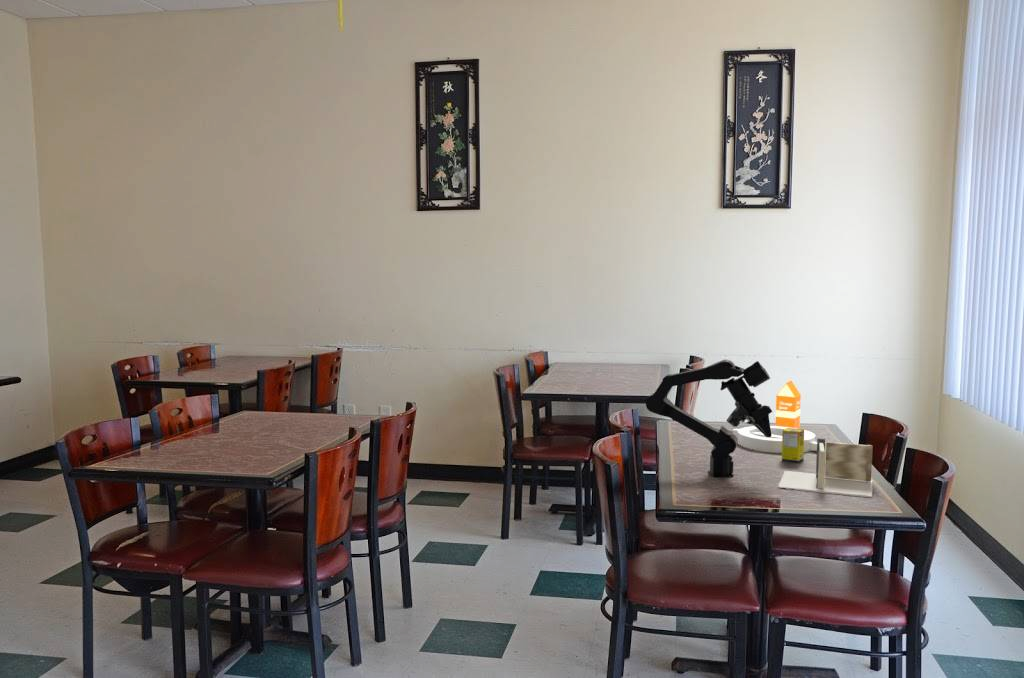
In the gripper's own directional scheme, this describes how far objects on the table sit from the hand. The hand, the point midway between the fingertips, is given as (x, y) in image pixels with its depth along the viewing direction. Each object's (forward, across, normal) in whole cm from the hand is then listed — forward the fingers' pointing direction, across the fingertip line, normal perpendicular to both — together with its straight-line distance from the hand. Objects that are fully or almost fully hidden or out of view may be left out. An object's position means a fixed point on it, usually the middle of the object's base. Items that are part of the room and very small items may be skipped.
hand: (769, 436), depth 275 cm
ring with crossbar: (+12, -52, +12) cm, 55 cm away
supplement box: (+16, -27, +8) cm, 32 cm away
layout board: (+21, +4, +6) cm, 22 cm away
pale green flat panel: (+19, +5, +4) cm, 21 cm away
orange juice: (+14, -78, +26) cm, 84 cm away
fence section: (+24, 0, +12) cm, 27 cm away
